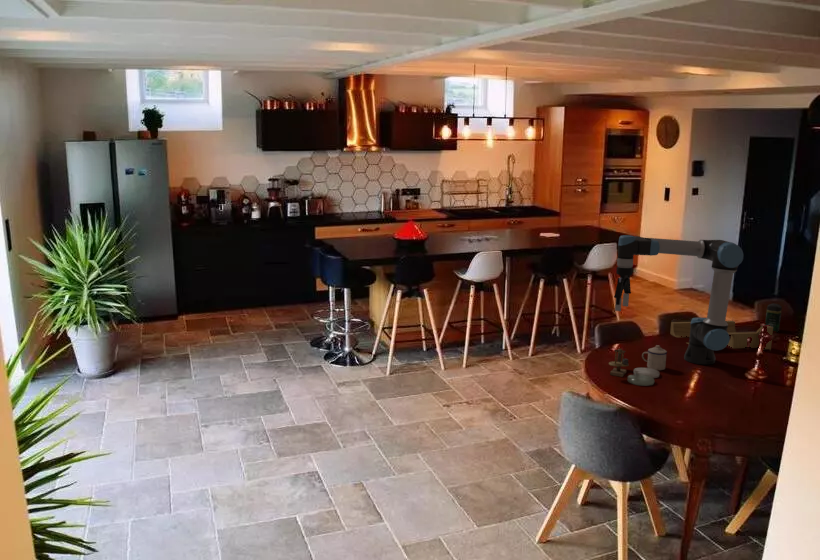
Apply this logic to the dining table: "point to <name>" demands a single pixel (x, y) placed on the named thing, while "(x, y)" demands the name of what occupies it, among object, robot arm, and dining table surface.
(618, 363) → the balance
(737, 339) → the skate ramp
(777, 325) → the coffee jar
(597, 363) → the dining table surface
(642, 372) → the dish
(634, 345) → the dining table surface
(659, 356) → the teacup with lid
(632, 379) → the dish
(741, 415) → the dining table surface
